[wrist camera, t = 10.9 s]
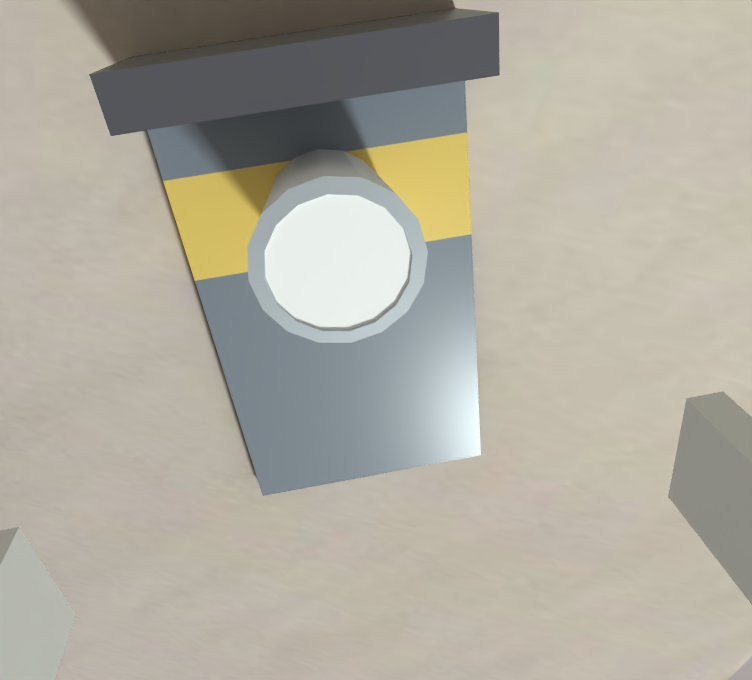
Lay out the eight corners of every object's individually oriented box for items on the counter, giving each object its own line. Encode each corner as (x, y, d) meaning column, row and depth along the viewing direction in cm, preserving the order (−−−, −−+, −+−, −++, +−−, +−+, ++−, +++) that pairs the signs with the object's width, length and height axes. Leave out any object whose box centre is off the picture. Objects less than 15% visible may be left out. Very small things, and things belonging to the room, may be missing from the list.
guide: (263, 484, 38) (259, 561, 33) (130, 57, 25) (89, 74, 20) (476, 444, 38) (505, 514, 33) (455, 8, 25) (498, 12, 20)
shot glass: (243, 259, 29) (232, 329, 23) (269, 116, 26) (264, 154, 20) (377, 286, 30) (399, 358, 25) (417, 155, 27) (453, 201, 21)
